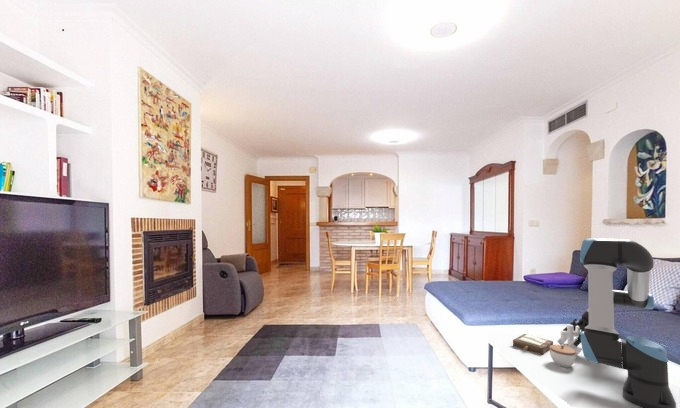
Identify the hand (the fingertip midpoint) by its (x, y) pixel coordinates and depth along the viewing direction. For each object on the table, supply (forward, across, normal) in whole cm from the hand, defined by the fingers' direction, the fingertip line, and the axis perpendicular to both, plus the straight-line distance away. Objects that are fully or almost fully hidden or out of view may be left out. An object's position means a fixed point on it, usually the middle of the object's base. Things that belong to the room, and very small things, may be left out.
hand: (564, 346), depth 172 cm
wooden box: (+12, +7, +7) cm, 16 cm away
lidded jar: (+10, -14, +5) cm, 18 cm away
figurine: (0, 0, -5) cm, 5 cm away
